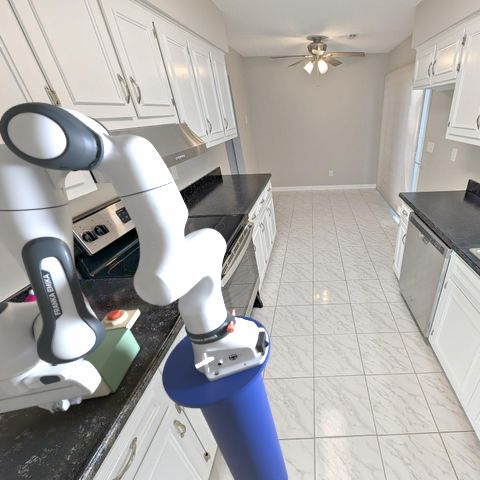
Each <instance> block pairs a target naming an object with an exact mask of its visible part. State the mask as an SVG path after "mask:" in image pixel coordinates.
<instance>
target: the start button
mask: <svg viewBox="0 0 480 480" xmlns="http://www.w3.org/2000/svg"><path fill="white" fill-rule="evenodd" d="M119 310H120V309H114V310H111V311H109V312H108V313H107V314H106V315H107V317H108V319H109V320H114V319H117V318H118V317H120V315H121V314H120V312H119Z"/></svg>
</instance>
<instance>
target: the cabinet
mask: <svg viewBox="0 0 480 480" xmlns="http://www.w3.org/2000/svg"><path fill="white" fill-rule="evenodd" d="M140 349H141V348H140V345H139V344H138V342H137V340H136V338H135V336H134V335H133V333H132V330H131V328H130V329H129V328H124V329H117V330H111V331H105V337H104V340H103V341H102V343H101V344H100V346H99V347H98V348H97V349H96V350H94V351H93V352H92V353H91V354H89V355H88V356H86V357H84V358H83V360H86V361H88V362H90V363H91V364H92V365H93V366H94V368H95V369H96V370H97V372H98V373H99V375H100V376H101V378H102V379H103V380H104V382H105V383H106V385H107V386H108V387H109V389H110V390H111V391H110V393H109V394H113V393H115V392H116V391H117V389H118V387H119V386H120V384H121V382H122V381H123V379H124V377H125V375H126V373H127V372H128V371H129V369H130V367H131V365H132V363H133V362H134V359H135V358H136V357H137V354H138V353H139V351H140Z"/></svg>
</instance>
